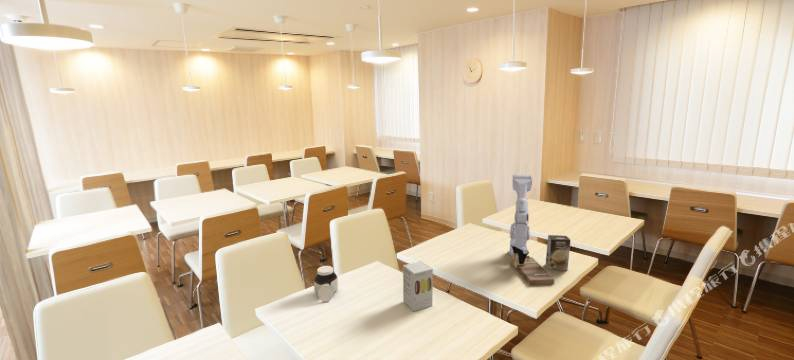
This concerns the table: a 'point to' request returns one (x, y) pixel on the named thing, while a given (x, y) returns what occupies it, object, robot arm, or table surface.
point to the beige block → (517, 260)
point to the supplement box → (417, 285)
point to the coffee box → (557, 252)
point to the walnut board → (534, 273)
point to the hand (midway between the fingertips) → (519, 261)
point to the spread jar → (325, 283)
